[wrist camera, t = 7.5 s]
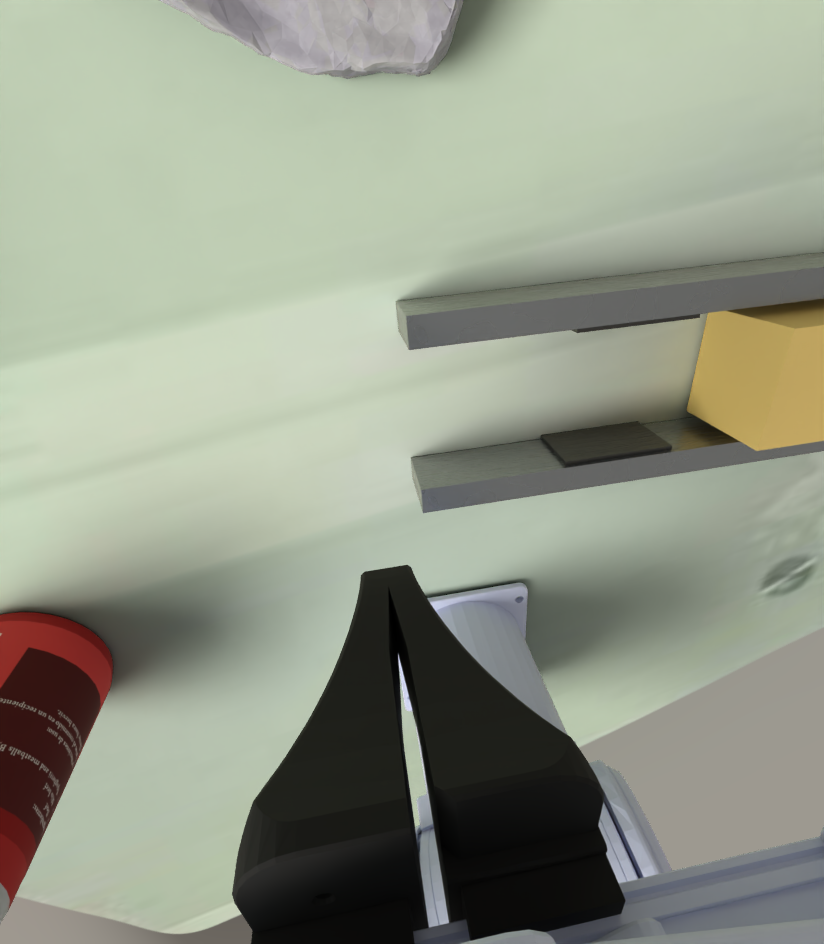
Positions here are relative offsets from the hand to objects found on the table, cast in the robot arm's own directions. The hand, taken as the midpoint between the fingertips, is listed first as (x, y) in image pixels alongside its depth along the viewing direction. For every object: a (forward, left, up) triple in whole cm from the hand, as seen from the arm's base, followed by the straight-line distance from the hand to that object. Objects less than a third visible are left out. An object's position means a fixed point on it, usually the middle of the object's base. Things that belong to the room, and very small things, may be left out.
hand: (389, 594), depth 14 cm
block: (+2, -19, -10) cm, 21 cm away
